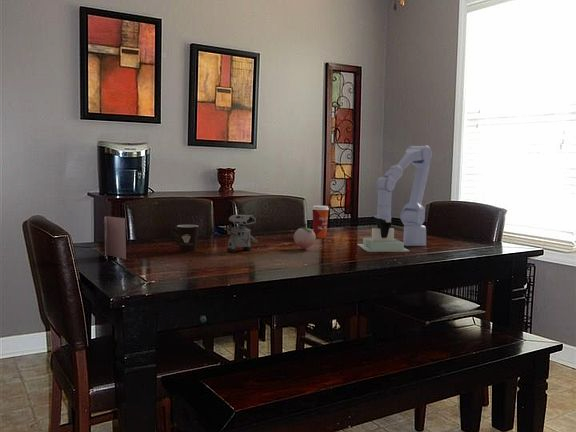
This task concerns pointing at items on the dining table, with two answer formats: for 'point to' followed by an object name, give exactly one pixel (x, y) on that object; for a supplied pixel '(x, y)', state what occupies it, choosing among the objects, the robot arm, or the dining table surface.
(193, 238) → the coffee mug
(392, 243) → the dish rack
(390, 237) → the tile plate
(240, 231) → the figurine
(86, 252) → the dining table surface
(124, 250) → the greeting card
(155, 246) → the dining table surface
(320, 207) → the coffee cup
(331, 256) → the dining table surface
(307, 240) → the decorative fruit
